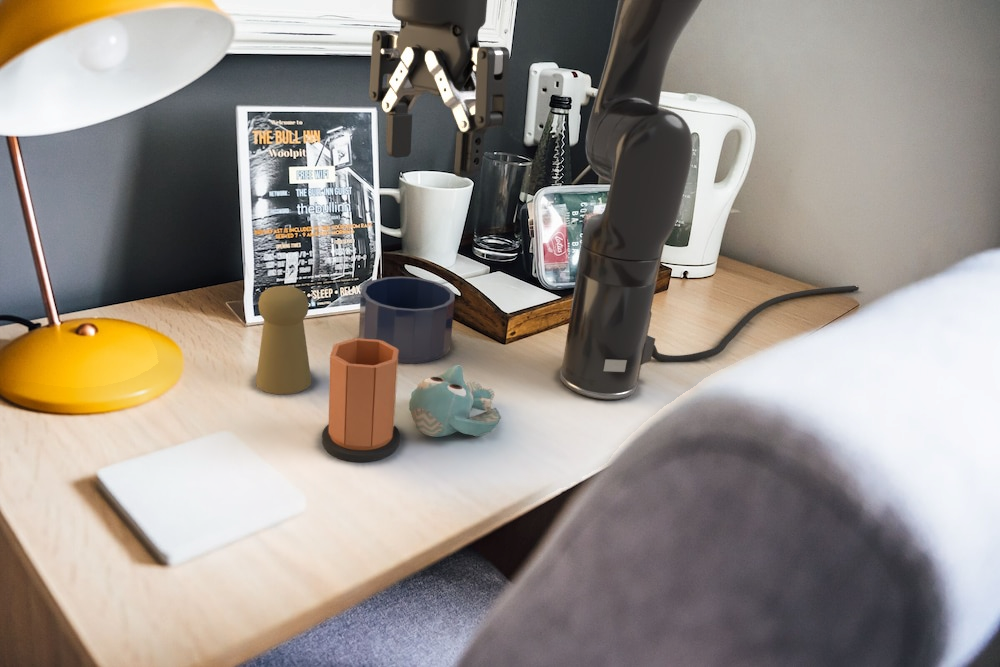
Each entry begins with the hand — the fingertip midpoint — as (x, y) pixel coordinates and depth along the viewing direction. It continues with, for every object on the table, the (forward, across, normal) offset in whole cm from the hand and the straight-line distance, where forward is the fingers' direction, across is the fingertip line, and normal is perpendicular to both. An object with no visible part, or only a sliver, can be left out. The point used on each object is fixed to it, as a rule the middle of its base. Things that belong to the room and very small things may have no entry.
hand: (430, 165), depth 67 cm
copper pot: (+27, +3, +4) cm, 28 cm away
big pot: (+28, +18, -15) cm, 37 cm away
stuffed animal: (+28, 0, -6) cm, 29 cm away
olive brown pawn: (+28, +18, +3) cm, 34 cm away
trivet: (+28, +3, +4) cm, 28 cm away
